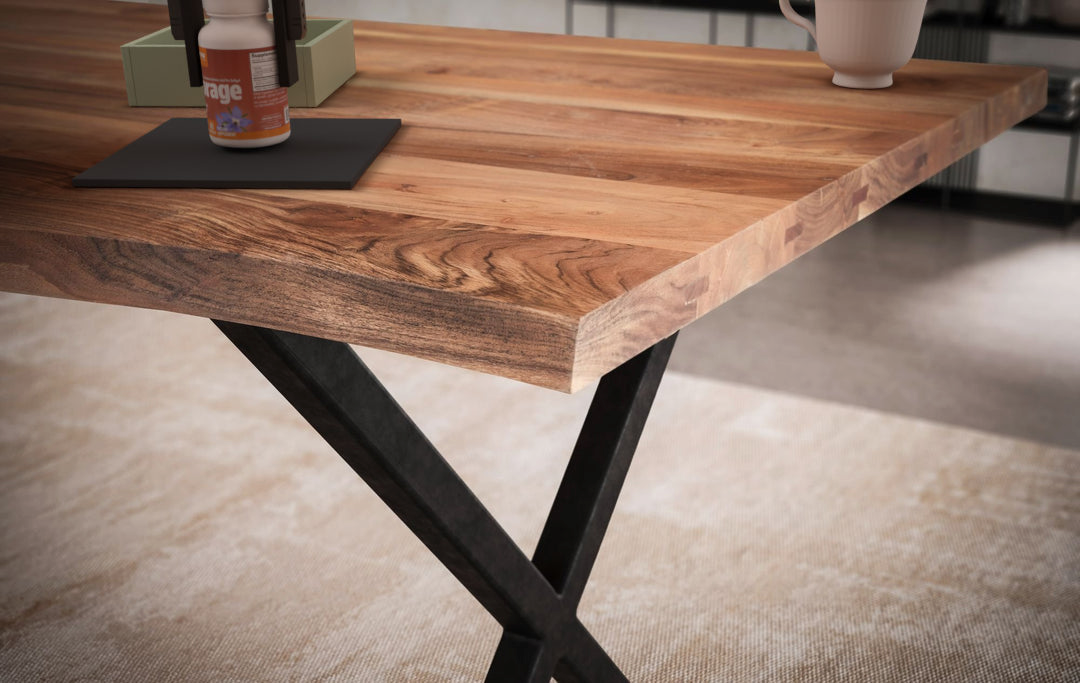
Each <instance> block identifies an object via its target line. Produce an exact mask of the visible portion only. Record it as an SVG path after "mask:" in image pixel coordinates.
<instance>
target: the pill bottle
mask: <svg viewBox="0 0 1080 683" xmlns="http://www.w3.org/2000/svg"><path fill="white" fill-rule="evenodd" d="M202 3H203V11H204V12H205V13H204V14H205V15H206V16H208V19H209V23H208V24H206V25H204V26H203V27H202V28H201V30H200V32H199V35H198V43H199V52H200V60H201V68H202V76H203V84H204V93H205V102H206V107H205V110H206V118H207V119H208V127H209V134H210V138H211V140H212V142H213V143H215V144H217V145H220V146H224V147H233V148H256V147H265V146H270V145H274V144H277V143H280V142H282V141H284V140H286V139H287V138H288V137H289V135H290V118H291V117H290V109H289V108H290V107H288V96H287V87H280V83H279V73H278V63H277V53H276V43H275V33H274V23H273V22H271V21H269V20H268V19H269V18H268V17H267V14H268V13H269V12H270V10H269V9H270V3H269V0H202Z"/></svg>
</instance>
